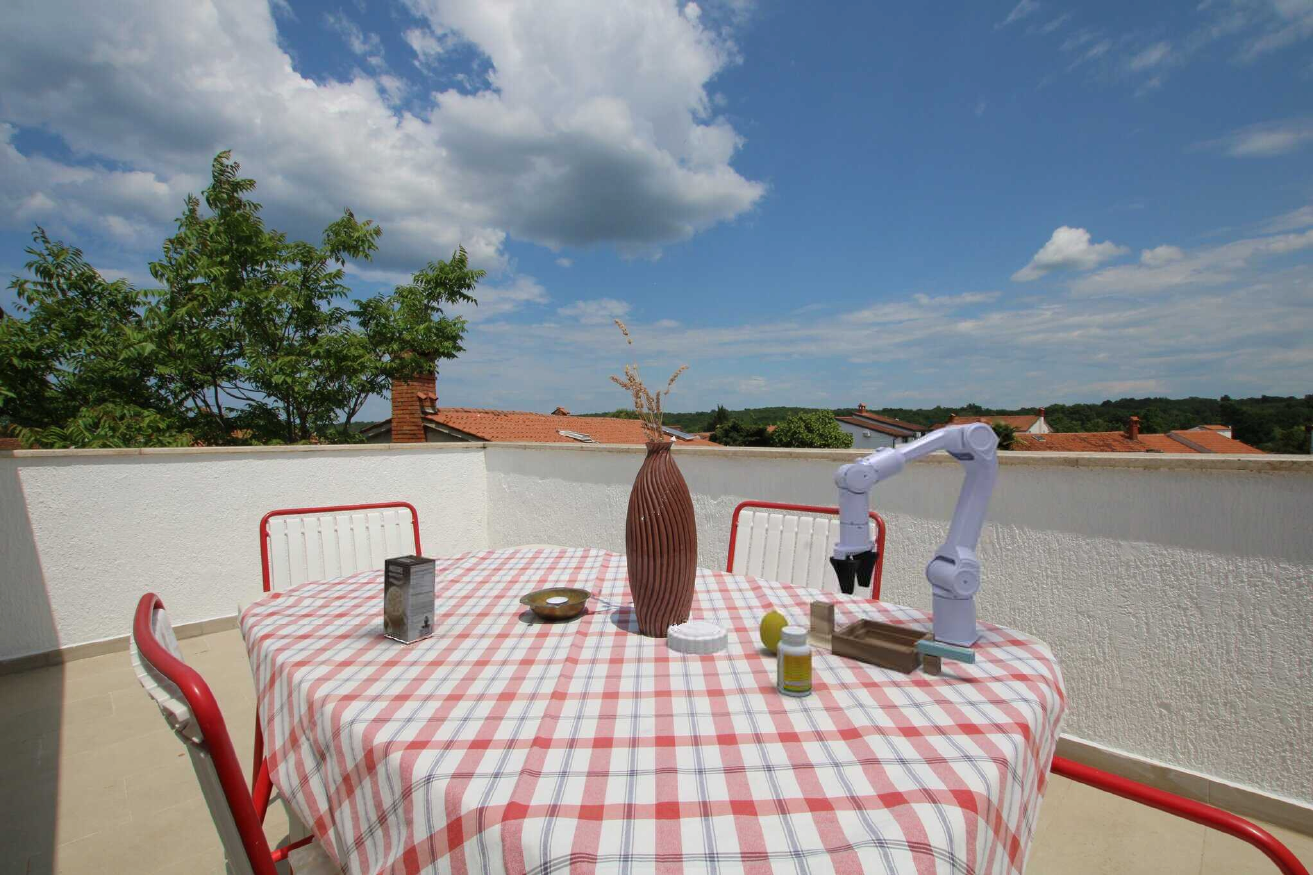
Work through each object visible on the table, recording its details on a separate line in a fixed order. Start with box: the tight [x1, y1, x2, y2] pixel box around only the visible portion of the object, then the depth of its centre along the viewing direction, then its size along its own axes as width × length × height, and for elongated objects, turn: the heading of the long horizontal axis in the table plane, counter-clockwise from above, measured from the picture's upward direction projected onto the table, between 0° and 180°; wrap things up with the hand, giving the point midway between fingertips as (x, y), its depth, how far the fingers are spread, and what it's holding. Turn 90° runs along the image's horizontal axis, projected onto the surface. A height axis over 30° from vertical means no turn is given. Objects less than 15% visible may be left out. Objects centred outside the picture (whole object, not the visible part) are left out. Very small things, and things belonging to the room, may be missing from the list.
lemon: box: [759, 610, 790, 654], centre depth 103 cm, size 6×6×8 cm
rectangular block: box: [917, 640, 976, 665], centre depth 93 cm, size 2×8×2 cm, turn 46°
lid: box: [802, 599, 838, 652], centre depth 112 cm, size 11×11×7 cm
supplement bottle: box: [776, 625, 813, 698], centre depth 87 cm, size 5×5×10 cm
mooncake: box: [666, 619, 729, 656], centre depth 109 cm, size 12×12×4 cm
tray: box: [831, 618, 942, 677], centre depth 102 cm, size 14×18×4 cm
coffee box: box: [382, 554, 437, 642], centre depth 113 cm, size 9×6×16 cm
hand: (855, 590), depth 110 cm, fingers open, 7 cm apart
